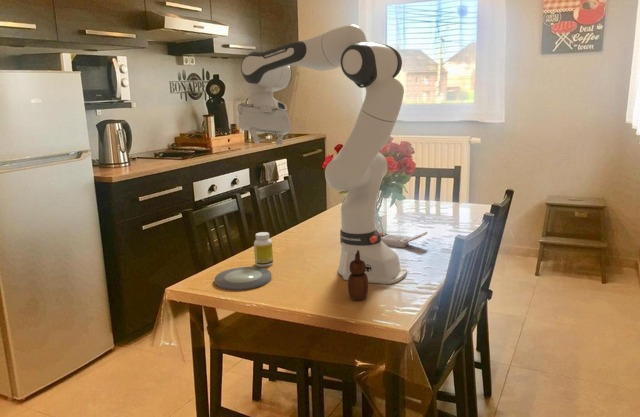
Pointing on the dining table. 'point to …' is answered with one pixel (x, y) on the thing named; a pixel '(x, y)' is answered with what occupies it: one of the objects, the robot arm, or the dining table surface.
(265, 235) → the pill bottle
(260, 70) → the robot arm
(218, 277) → the plate
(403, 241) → the grey brush
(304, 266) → the dining table surface
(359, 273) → the brown squeeze bottle
